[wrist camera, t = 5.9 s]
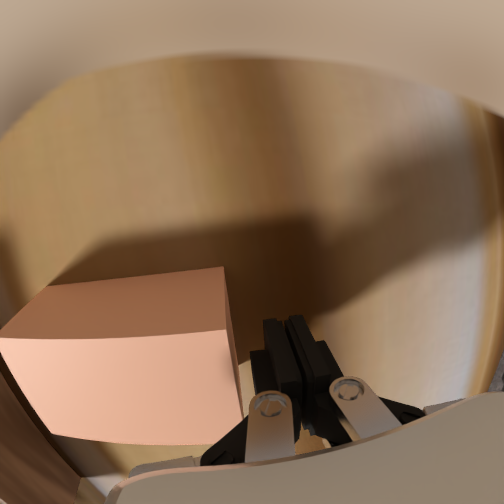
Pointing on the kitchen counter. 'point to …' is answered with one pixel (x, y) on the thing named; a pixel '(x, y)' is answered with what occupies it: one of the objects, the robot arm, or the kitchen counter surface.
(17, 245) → the kitchen counter surface
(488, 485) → the robot arm
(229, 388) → the brick
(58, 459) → the walnut board
